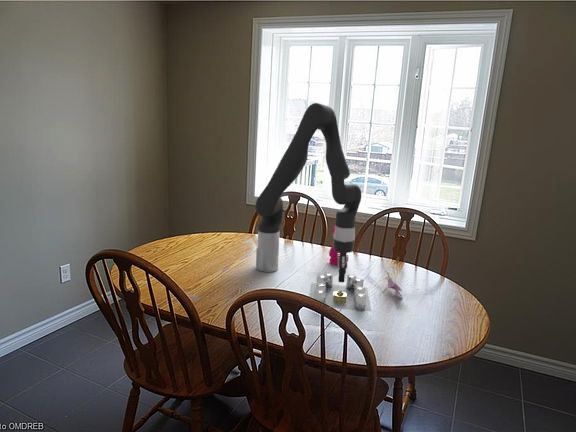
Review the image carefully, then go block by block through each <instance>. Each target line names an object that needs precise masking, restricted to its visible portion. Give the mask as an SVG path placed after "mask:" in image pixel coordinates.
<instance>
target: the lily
mask: <svg viewBox="0 0 576 432" xmlns="http://www.w3.org/2000/svg"><path fill="white" fill-rule="evenodd" d="M384 271H385V272H386V274H387V276H386V277H385V278H386V279H387V286H386V288H385V289H384V290H383V291H382V294H384V292H385V291H386V290H387V289H392V290H393V291H394V290H395V291H396V292H397V293H398V295H400V296H399V297H401V298H403V296H402V294H401V292H403V291H402V289H401V287H400V286H399V285H398V284H397V283H398V282H397V281H394V280H393V279H392V278H391V276H390V274H389V272H388V271H387V270H386V269H384Z"/></svg>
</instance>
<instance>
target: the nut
mask: <svg viewBox="0 0 576 432" xmlns="http://www.w3.org/2000/svg"><path fill="white" fill-rule="evenodd" d="M333 301H334V302H337V303H344V302H346V293H345V292H342V291H336V292H334V293H333Z"/></svg>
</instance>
